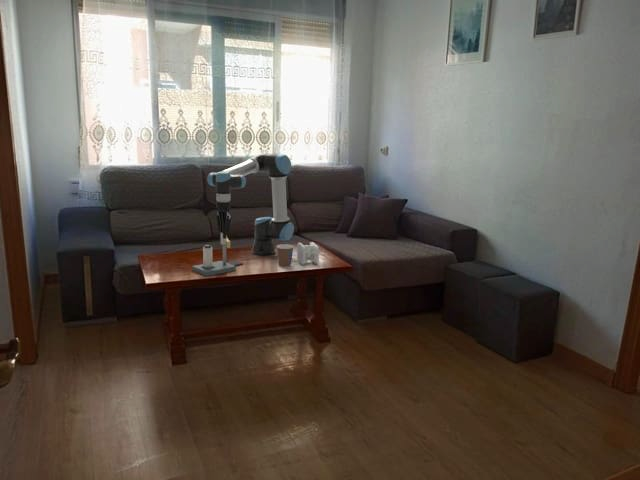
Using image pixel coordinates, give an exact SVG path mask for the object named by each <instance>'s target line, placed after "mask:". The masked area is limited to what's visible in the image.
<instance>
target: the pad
mask: <svg viewBox="0 0 640 480" xmlns="http://www.w3.org/2000/svg"><path fill="white" fill-rule="evenodd" d="M226 263H228V264H231V265H234V266H236V267H238V266H239V267H240V266H243V265H244V263H243V262H240V261H238V260H229V261H226Z"/></svg>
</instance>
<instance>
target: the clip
mask: <svg viewBox="0 0 640 480" xmlns="http://www.w3.org/2000/svg"><path fill="white" fill-rule="evenodd" d="M226 237H227V238H226V249H230V248H231V240H229V238H228V235H227V236H226Z"/></svg>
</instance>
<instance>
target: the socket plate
mask: <svg viewBox="0 0 640 480" xmlns="http://www.w3.org/2000/svg"><path fill="white" fill-rule="evenodd" d="M212 262H213V268H211V269H204V268H203V263H201V264H197V265H192V266H191V268H192V271H193V272H195V273H198V274H201V275H203V276H205V277H209V276H210V277H211V276H216V275H219V274H225V273H229V272H234V271H237V270H236V269H237V266H234V265H231V264H228V263H226V262H227V243H226V244H223V245H222V260H217V261H212Z"/></svg>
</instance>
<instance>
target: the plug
mask: <svg viewBox="0 0 640 480" xmlns="http://www.w3.org/2000/svg"><path fill="white" fill-rule="evenodd" d="M202 252H203V253H202V255H203V257H202V258H203V259H202V260H203V262H202V264H203V268H204V269H211V268H213V262H214V261H213V246H212V245H211V244H205V245H203V247H202Z"/></svg>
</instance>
